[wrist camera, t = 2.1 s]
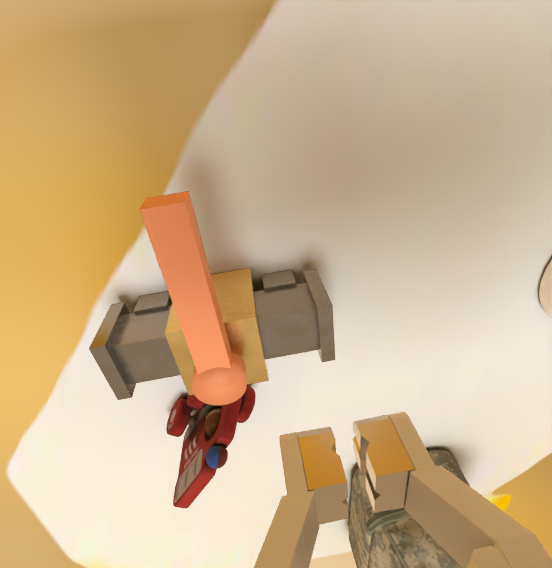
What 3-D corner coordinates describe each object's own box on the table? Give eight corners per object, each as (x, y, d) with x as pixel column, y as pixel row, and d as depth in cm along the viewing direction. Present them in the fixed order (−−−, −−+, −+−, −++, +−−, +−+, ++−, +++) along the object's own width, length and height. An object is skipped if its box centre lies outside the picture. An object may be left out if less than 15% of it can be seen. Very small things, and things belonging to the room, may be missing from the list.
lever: (249, 380, 28) (250, 399, 26) (201, 389, 28) (199, 409, 26) (202, 189, 20) (200, 199, 18) (133, 200, 20) (124, 212, 18)
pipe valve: (311, 257, 33) (336, 309, 26) (316, 314, 37) (339, 374, 29) (113, 291, 33) (80, 355, 25) (138, 346, 36) (116, 416, 29)
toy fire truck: (263, 371, 40) (273, 454, 32) (213, 432, 45) (209, 519, 36) (210, 351, 38) (205, 434, 29) (162, 418, 43) (146, 507, 34)
